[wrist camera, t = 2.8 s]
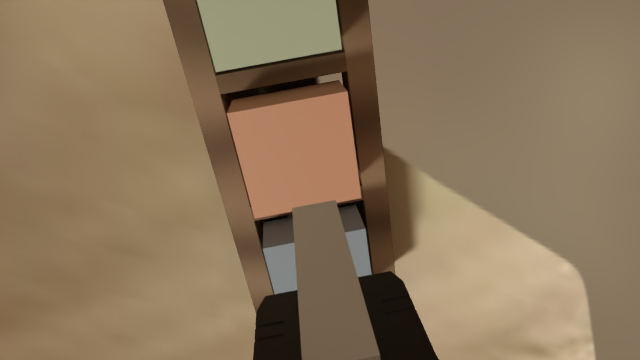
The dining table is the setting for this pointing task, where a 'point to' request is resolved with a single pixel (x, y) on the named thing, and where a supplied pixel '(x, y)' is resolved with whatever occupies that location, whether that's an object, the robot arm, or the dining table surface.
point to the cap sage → (268, 30)
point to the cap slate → (283, 250)
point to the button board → (215, 85)
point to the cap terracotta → (295, 147)
